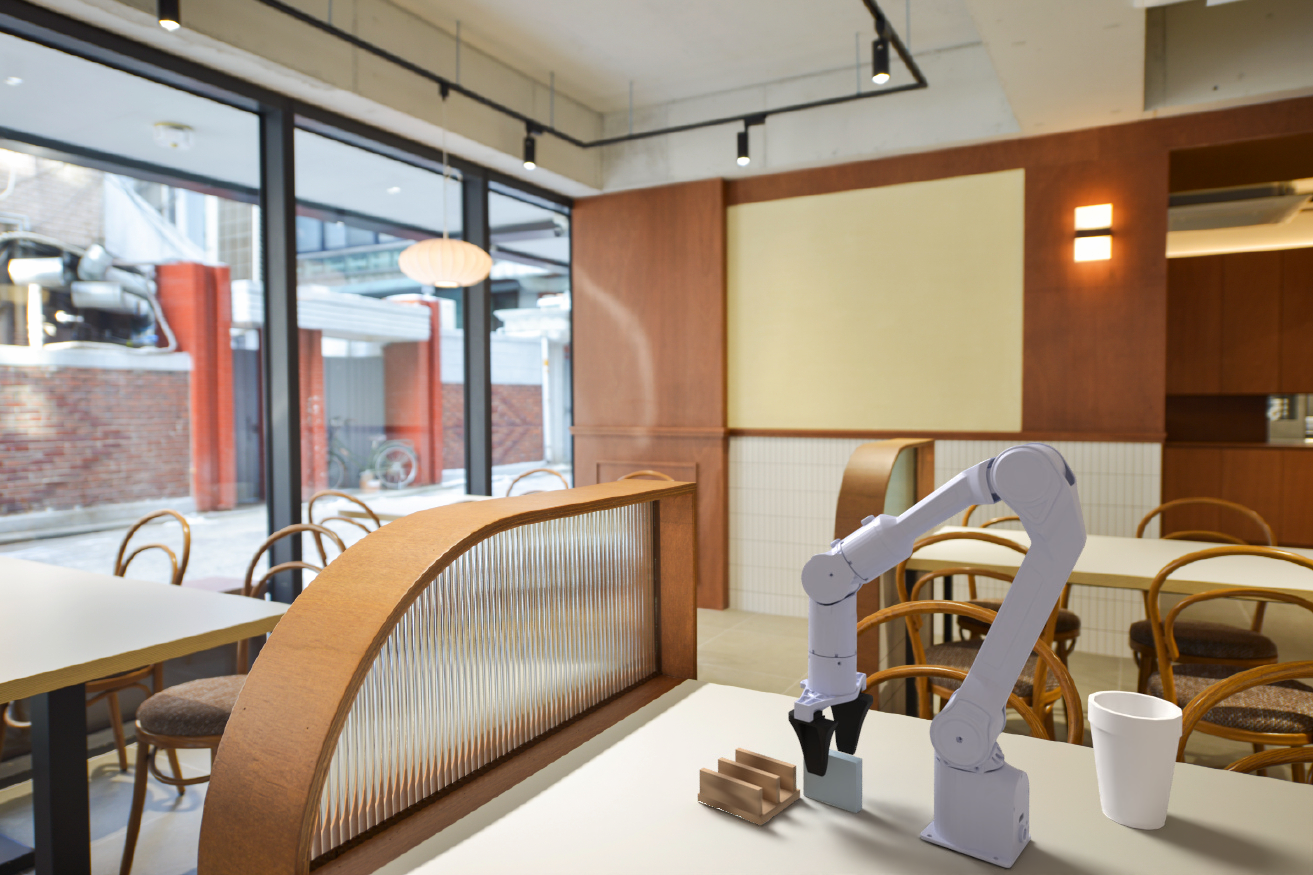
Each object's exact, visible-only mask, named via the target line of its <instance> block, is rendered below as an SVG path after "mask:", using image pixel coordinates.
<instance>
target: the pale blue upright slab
mask: <svg viewBox="0 0 1313 875" xmlns="http://www.w3.org/2000/svg"><path fill="white" fill-rule="evenodd" d="M802 758H803V759H802V760H803V767H802V768H803V773H802V774H803V778H802V779H803V785H802V786H803V788H802V789H803V791H802V792H803V795H804V797H806V796H807V797H806V798H810V799H813V800H814V801H815V800H816V801H818V802H822V803H825V804H828V805H830V806H834V807H836V808H839V809H843V810H845V811H847V812H851V813H854V814H857V813H858V812H860V811H861V810H862V809H863V758H861V757H858V756H855V755H850V754H846V753H843V752H839V751H838V750H834V749H831V748H829V757H828V766H827V771H826V774H825V775H824V776H823V777H821V776H818V775H814V774H811V773H808V772H807V769H806V765H805V760H804V756H802Z"/></svg>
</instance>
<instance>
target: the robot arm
mask: <svg viewBox="0 0 1313 875" xmlns="http://www.w3.org/2000/svg"><path fill="white" fill-rule="evenodd" d="M1078 490H1079V489H1078V481H1077V476H1076V475H1075V473H1074V471H1073V470H1072V468H1071V467H1070V464H1069V463H1068V462H1067V460H1066V459H1065V457H1064V456H1063V454H1062V453H1061V452H1060V451H1059V450H1057V449H1056V448H1055V447H1053V446H1051V445H1050V444H1048V443H1043V442H1028V443H1024V444H1019V445H1018V444H1017V445H1013V446H1011V447H1008V448H1006V449H1004V450H1003V451H1001V452H1000V453H999V454H998V455H997V456H994V457H993V456H992V457H990V458H988V459H986V460H983V461H981V462H979V463H977V464H975V465H973V466H970V467H969V468H966V469H965V470H962V471H961V472H959V473H958V474H956V475H955V476H953V477H952V478H951V479H949V480H948V481H947V482H945V483H944V484H942V485H941V486H940V487H938V488H937V489H935V490H934V491H932V492H931V493H930V494H928V495H927V496H925V497H924V498H923V499H921V500H920V501H918V502H917V503H916V504H914V505H913V506H911V507H910V508H908V509H906V510H905V511H904V512H903V513H902V514H900V515H898V516H895V515H890V514H885V513H881V514H878V516H874V515H873V514H871V515H867V517H865V518H863V519H862V520H860V523H861V526H860V528H858V529H856V530H855V531H853V532H852V533H851V534H849V535H847V536H846V537H845V538H843V539H841V538H836V539H834V540H832V542H830V544H829V546H830V547H831V549H829V550H828V551H825V552H821V553H816V554H813V555H812V556H811V557H810V559H809V560H808V561H807V562H806V563H805V565H804V566H803V568H802V571H801V576H800V580H801V581H800V582H801V585H802V587H803V590H804V592H805V593H806V594H807V596H808V612H807V613H808V614H807V617H808V619H807V620H808V621H807V622H808V624H807V625H808V626H807V627H808V628H807V637H808V638H807V640H808V641H807V642H808V643H807V644H808V646H807V648H808V650H807V651H808V652H807V655H808V656H807V657H808V658H807V659H808V660H807V678H805V679H802V680H800V682H799V688H801V689H803V691H802V693H801V695H800V697H799V698H798V699H797V700H795V701H794V703H793V704H794V705H793V709H791V710H789V711H788V712H787V714H788V722H789V723H790V726H791V727H792V728H793V730H794V733H795V735H796V737H797V739H798V742H799V745H800V748H801V752H802V755H803V756H804V760H805V765H806V769H807V772H808V773H811V774H814V775H818V776H821V777H823V776H824V775H825V774H826V771H827V766H828V757H829V749H831V747H830V746H831V743H832V742H831V741H832V739H833V735H834V738H835V745H836V751H838V752H841V753H845V754H848V755H852V756H855V754H856V751H857V748H858V745H859V740H860V736H861V735H860V734H861V732H862V728H863V725H864V722H865V719H866V717H867V714H868V712H869V711H870V709H871V707H872V705H873V703H874V696H873V695H872V694H870V693H865V692H863V691H865V690H867V674H866V673H863V672H859V671H857V669H858V668H857V667H858V666H857V663H858V662H857V661H858V658H857V657H858V651H857V650H858V648H857V646H858V644H857V642H858V629H857V628H858V613H857V601H858V600H857V598H858V597H857V592H858V591H859V590H860V589H861V588H862V586H863V584H869V583H870V582H871V581H873V580H876V578H878V577H880V576H882V575H883V574H885V573H886V572H888V571H889V570H891V569H892V568H894V567H896V566H897V565H899V564H900V563H902V562H904V561H905V560H907V559H908V558H910V557H911V556H912V554H913V551H914V550H913V549H914V543H915V541H916V539H917V538H919V537H921V536H922V535H924V534H925V533H927V532H929V531H931V530H932V529H935V527H937V526H939V525H940V524H943V523H944V522H946V521H947V520H949V519H951V518H953V517H954V516H956V515H957V514H959V513H961V512H962V511H964V510H966V509H968V508H969V507H971V506H981V505H982V506H983V505H988V506H989V505H995V504H997V503H999V502H1001V501H1003V503H1004V504H1006V505H1007V507H1009V508H1010V509H1011V511H1013V512H1014V513H1015V514H1016V515H1017V516H1018V519H1019V521H1020V522H1021V524H1022V526H1023V528H1024V530H1025V533H1026V534H1027V536H1028V538H1029V540H1030V546H1029V548H1028V550H1027V551H1026V554H1025V555H1024V558H1023V559H1022V560H1023V561H1022V563H1021V565H1020V566H1019V569H1018V571H1017V573H1016V575H1015V577H1014V579H1013V581H1012V583H1011V585H1010V587H1009V589H1008V591H1007V593H1006V595H1005V597H1004V599H1003V601H1002V604H1001V606H1000V608H999V609H998V612H997V614H996V616H995V618H994V619H993V622H992V623H991V626H990V628H989V630H988V632H987V634H986V635H985V638H984V640H983V642H982V644H981V646H980V648H979V650H978V652H977V655H976V657H975V659H974V661H973V662H972V663H973V664H971V667H970V669H969V671H968V672H967V675H965V676H966V677H964V678H965V679H964V680H963V682H962V684H961V685H960V687H959V688H958V689H956V690H955V691H954V692H953V693H952V694H951V696H950V698H949V699H948V702H947V703H946V704H945V706H944V707H943V708H942V710H941V711H940V712H938V713H936V714H935V716H934V717H933V718H932V720H931V723H930V726H929V739H930V743H931V745H932V747H933V750H934V751H933V753H934V754H933V820H932V821H931V822H930V823H929V824H928V825H927V826H926V827H925V828H924V829H923V830H922V831H921V832H920V835H919V837H920V839H922V840H924V841H927V842H929V843H932V844H934V845H939V846H941V847H945V848H946V849H947V848H948V849H951V850H953V851H956V852H958V853H962V854H963V855H967V856H971V857H974V858H976V859H979V860H982V861H984V862H987V863H991V864H994V865H997V866H1000V867H1003V868H1006V869H1010V868H1011V867H1012V866H1013V865H1014V864H1015V862H1016V860H1018V858H1019V856H1020V855H1021V853H1022V852H1023V850H1024V849H1025V848H1026V846H1027V845H1028V844H1029V842H1030V841H1031V840H1032V836H1031V834H1030V781H1029V775H1028V773H1027V771H1024V770H1021V769H1019V768H1017V767H1014V766H1012V765H1011V764H1009V762H1007V761H1006V760H1005V754H1004V753H1003V750H1002V748H1001V746H1000V744H999V742H997V740H998V737H999V736H1000V735H1001V734H1002V733H1003V731H1004V729H1005V727H1006V725H1007V713H1006V712H1007V710H1006V707H1007V703H1008V699H1009V697H1010V696H1011V694H1012V692H1013V689H1014V687H1015V685H1016V683H1017V681H1018V679H1019V677H1020V675H1021V673H1022V671H1023V669H1024V667H1025V665H1026V663H1027V661H1028V659H1029V658H1030V656H1031V653H1032V651H1033V650H1034V647H1035V645H1036V643H1037V642H1038V639H1039V637H1040V635H1041V634H1042V632H1043V629H1044V627H1045V625H1046V624H1047V622H1048V620H1049V618H1050V616H1051V614H1052V612H1053V610H1054V608H1055V606H1056V604H1057V602H1058V600H1059V598H1060V596H1061V594H1062V592H1063V589H1064V588H1065V586H1066V585H1067V582H1068V580H1069V578H1070V576H1071V574H1072V572H1073V570H1074V568H1075V567H1076V564H1077V563H1078V560H1079V558H1080V556H1081V554H1082V552H1083V550H1084V548H1085V546H1086V544H1087V543H1086V542H1087V539H1088V538H1087V531H1086V526H1085V521H1084V515H1083V511H1082V507H1081V506H1082V505H1081V502H1080V496H1079V491H1078ZM829 707H830V709H831V713H832V718H833V719H829V718H826V715H825V714H824V710H826V709H828V708H829ZM803 756H802V757H803Z"/></svg>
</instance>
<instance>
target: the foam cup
mask: <svg viewBox="0 0 1313 875" xmlns="http://www.w3.org/2000/svg"><path fill="white" fill-rule="evenodd" d="M1087 721H1088V722H1089V724H1090V731H1091V738H1092V747H1093V748H1092V749H1093V754H1094V762H1095V769H1096V770H1095V771H1096V777H1097V784H1098V791H1099V798H1100V799H1099V800H1100V806H1101V812H1102V814H1104V815H1105V816H1106V817H1107V819H1110V820H1112V821H1114V822H1115V823H1117V824H1120V825H1122V826H1124V827H1125V826H1126V827H1129V828H1132V829H1133V828H1134V829H1140V830H1145V831H1146V830H1147V831H1148V830H1158V829H1161V828H1162V827H1164V826H1165V824H1166V823H1165V821H1166V819H1167V814H1168V809H1169V808H1168V807H1169V802H1170V797H1171V791H1172V790H1171V789H1172V784H1173V779H1174V773H1175V766H1176V761H1177V756H1178V749H1179V742H1180V738H1181V737H1183V711H1182V708H1180V707H1179V706H1177V705H1176V704H1175V703H1173V702H1170V701H1168V700H1165V699H1162V698H1159V697H1156V696H1153V695H1148V694H1143V693H1139V692H1133V691H1122V690H1121V691H1120V690H1104V691H1103V690H1101V691H1096V692H1093V693H1090V694H1089V695H1088V699H1087Z"/></svg>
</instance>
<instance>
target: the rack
mask: <svg viewBox="0 0 1313 875" xmlns="http://www.w3.org/2000/svg"><path fill="white" fill-rule="evenodd" d="M734 750H735V752H734V753H735V758H734V759H735V760H732V759H729V758H725V757H720V758H718V759H717V771H715V770H712V769H709V768H706V767H702V768H701V769H699V792H698V793H697V802H698V801H701V802H703V803H706V804H707V805H710V806H713V807H715V808H720V809H722V810H724V811H727V812H729V813H732V814H734V815H738V816H741V817H742V818H744V819H746V820H745V821H747V820H749V821H750V822H749V821H748V822H749V823H752V822H754V823H753V824H755V823H756V824H755V825H757V824H759V825H758V826H760V825H762V824H763V825H765V822H766V823H767V822H768V821H770V820H771V819H773V818H774V817H775V816H777V815H778V814H780V813H781V812H782V811H784V810H785V809H786V808H788V807H789V806H790V805H792V804H793V803H795V802H796V801H797V800H799V799H800V798H801V789H800V788H797V765H796V764H792V763H789V762H786V761H783V760H779V759H776V758H774V757H771V756H768V755H765V754H760V753H759V752H758V753H757V752H754V751H751V750H748V749H744V748H742V747H737V748H736V749H734ZM794 801H795V802H794ZM707 805H706V806H707ZM710 806H709V807H710ZM713 807H712V808H713ZM715 808H714V809H715ZM784 808H785V809H784ZM783 809H784V810H783ZM780 811H781V812H780ZM734 815H733V816H734ZM773 816H774V817H773ZM772 817H773V818H772ZM742 818H741V819H742ZM744 819H743V820H744ZM763 825H762V826H763Z"/></svg>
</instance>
